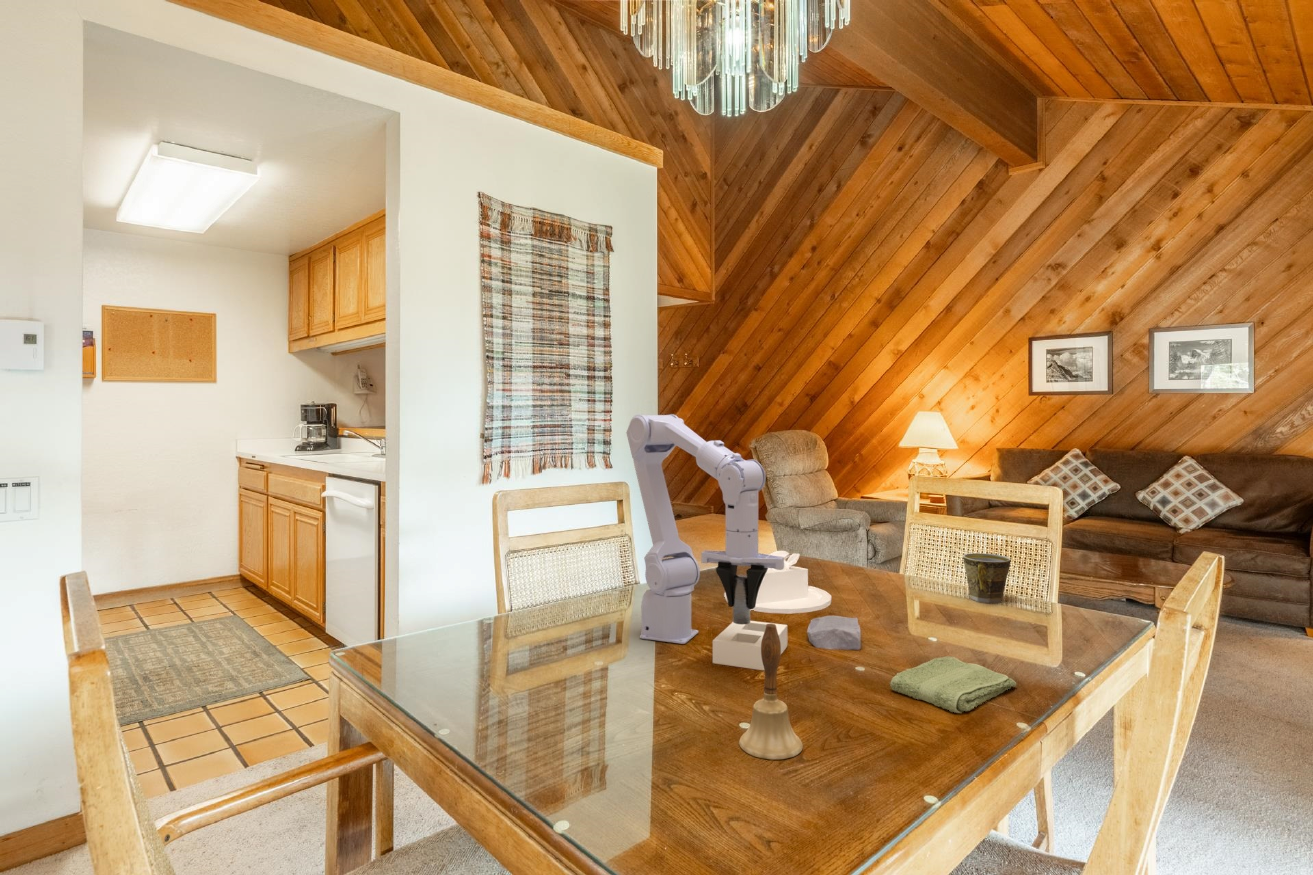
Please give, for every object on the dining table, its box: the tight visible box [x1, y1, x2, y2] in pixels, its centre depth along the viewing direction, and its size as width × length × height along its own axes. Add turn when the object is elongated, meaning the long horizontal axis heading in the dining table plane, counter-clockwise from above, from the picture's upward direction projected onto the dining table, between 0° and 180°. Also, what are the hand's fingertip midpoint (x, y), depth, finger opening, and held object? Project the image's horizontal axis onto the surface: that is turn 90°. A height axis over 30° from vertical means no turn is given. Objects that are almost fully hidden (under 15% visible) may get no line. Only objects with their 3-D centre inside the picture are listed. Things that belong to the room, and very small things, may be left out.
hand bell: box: [738, 623, 804, 761], centre depth 92 cm, size 8×8×16 cm
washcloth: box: [889, 656, 1017, 714], centre depth 111 cm, size 13×18×3 cm
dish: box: [723, 550, 832, 614], centre depth 166 cm, size 25×25×11 cm
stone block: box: [806, 615, 862, 651], centre depth 136 cm, size 12×5×10 cm
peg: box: [732, 574, 751, 624], centre depth 123 cm, size 3×3×8 cm
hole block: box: [712, 620, 788, 672], centre depth 128 cm, size 10×14×4 cm
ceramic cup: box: [962, 552, 1011, 604], centre depth 163 cm, size 13×10×10 cm
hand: (741, 606), depth 123 cm, fingers closed on peg, 3 cm apart
